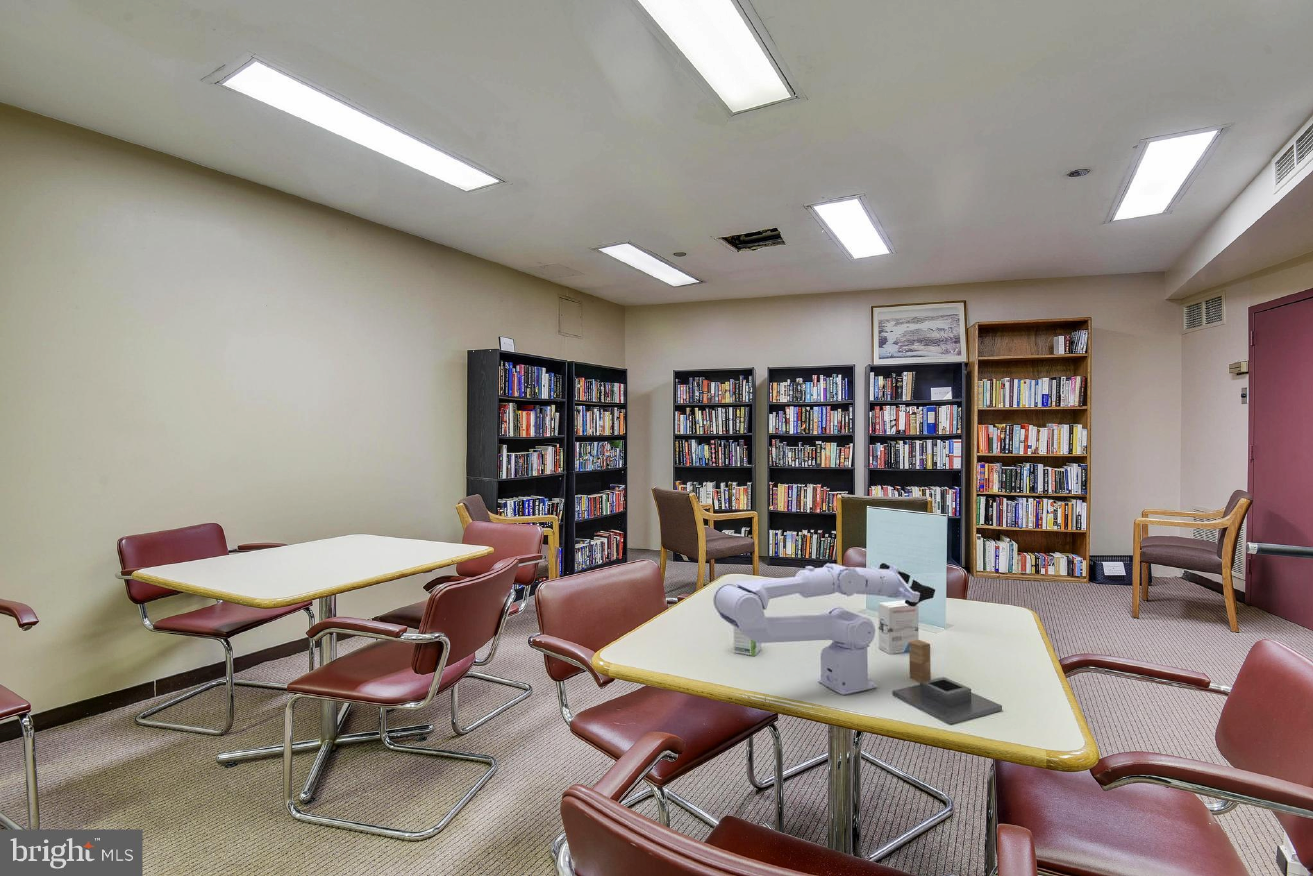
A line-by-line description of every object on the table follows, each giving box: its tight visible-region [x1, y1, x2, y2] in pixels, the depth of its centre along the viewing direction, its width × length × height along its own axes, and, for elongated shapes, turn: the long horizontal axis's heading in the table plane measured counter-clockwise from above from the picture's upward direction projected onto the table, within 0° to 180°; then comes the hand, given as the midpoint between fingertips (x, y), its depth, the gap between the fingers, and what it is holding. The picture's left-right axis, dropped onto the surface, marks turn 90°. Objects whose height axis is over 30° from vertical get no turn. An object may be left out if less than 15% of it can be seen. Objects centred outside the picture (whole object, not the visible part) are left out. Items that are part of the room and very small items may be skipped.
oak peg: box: [908, 639, 932, 683], centre depth 131 cm, size 3×3×8 cm
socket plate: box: [891, 676, 1003, 725], centre depth 119 cm, size 14×14×4 cm
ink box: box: [878, 599, 919, 655], centre depth 150 cm, size 9×5×12 cm, turn 106°
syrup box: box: [733, 627, 762, 657], centre depth 150 cm, size 6×6×14 cm
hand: (920, 586), depth 136 cm, fingers open, 7 cm apart
